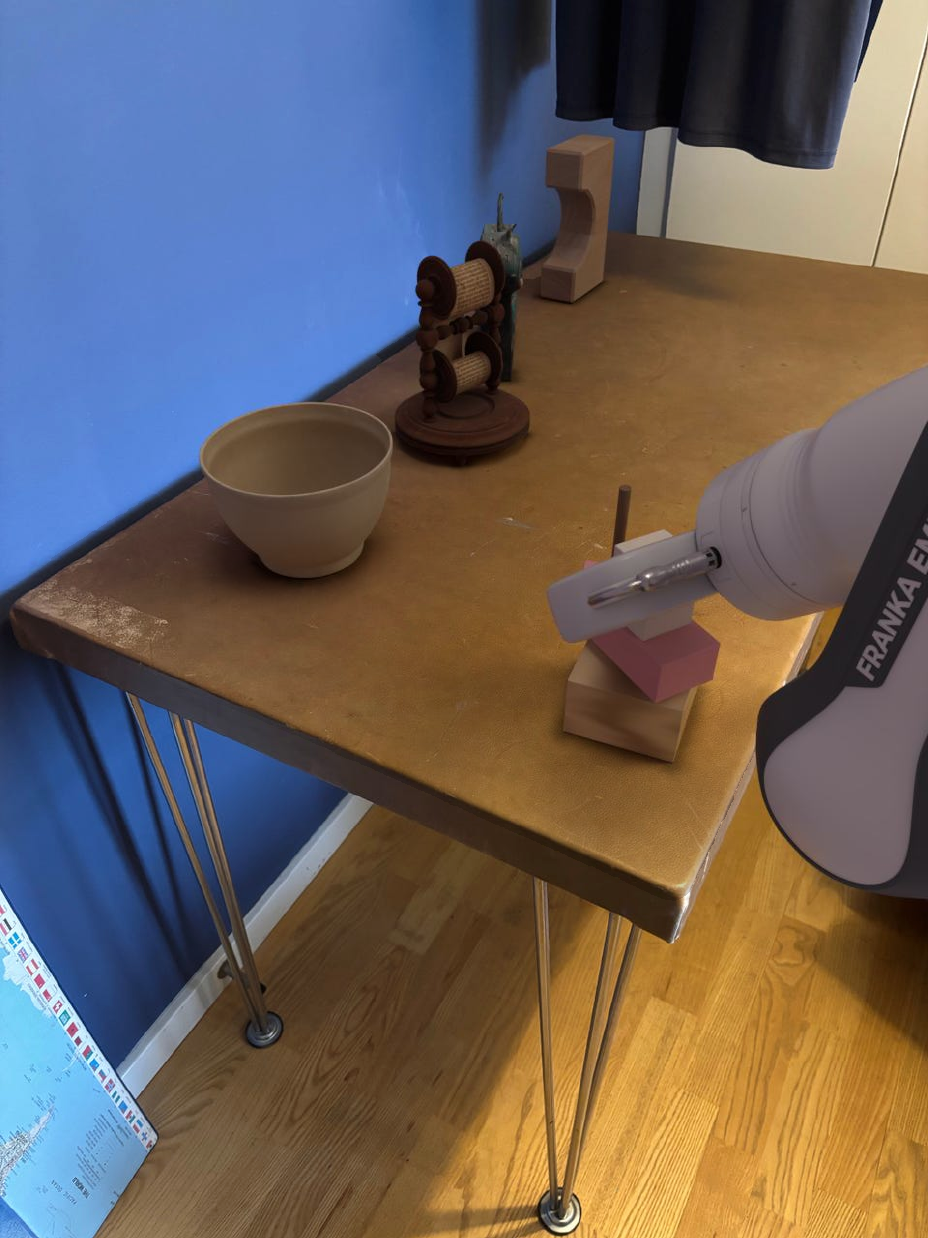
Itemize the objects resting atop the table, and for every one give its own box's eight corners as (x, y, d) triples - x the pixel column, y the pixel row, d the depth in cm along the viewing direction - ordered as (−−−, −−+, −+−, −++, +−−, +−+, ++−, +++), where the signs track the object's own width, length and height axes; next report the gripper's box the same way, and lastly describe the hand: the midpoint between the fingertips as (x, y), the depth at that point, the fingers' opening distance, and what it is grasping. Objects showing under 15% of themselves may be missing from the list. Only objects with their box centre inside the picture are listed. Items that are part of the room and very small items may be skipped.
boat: (713, 679, 61) (744, 542, 54) (655, 703, 59) (679, 564, 52) (609, 585, 69) (624, 455, 62) (555, 604, 67) (564, 472, 60)
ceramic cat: (520, 387, 110) (526, 212, 98) (467, 387, 111) (466, 212, 98) (516, 325, 126) (521, 168, 113) (469, 325, 126) (469, 168, 113)
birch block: (697, 689, 69) (707, 639, 66) (673, 763, 63) (683, 711, 60) (595, 662, 71) (600, 612, 68) (562, 731, 65) (567, 680, 62)
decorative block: (572, 304, 132) (582, 152, 120) (537, 297, 134) (544, 148, 122) (604, 282, 139) (617, 137, 127) (571, 276, 142) (580, 132, 129)
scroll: (463, 394, 109) (461, 218, 97) (556, 434, 101) (567, 247, 88) (368, 435, 101) (353, 249, 89) (461, 483, 93) (458, 285, 80)
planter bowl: (187, 553, 83) (161, 446, 77) (324, 486, 92) (311, 386, 86) (295, 629, 75) (277, 516, 68) (435, 548, 84) (431, 441, 77)
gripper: (643, 652, 43) (528, 681, 56) (942, 538, 51) (780, 587, 63) (598, 527, 43) (494, 585, 56) (901, 432, 51) (748, 502, 64)
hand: (647, 585), depth 60 cm, fingers closed on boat, 4 cm apart
